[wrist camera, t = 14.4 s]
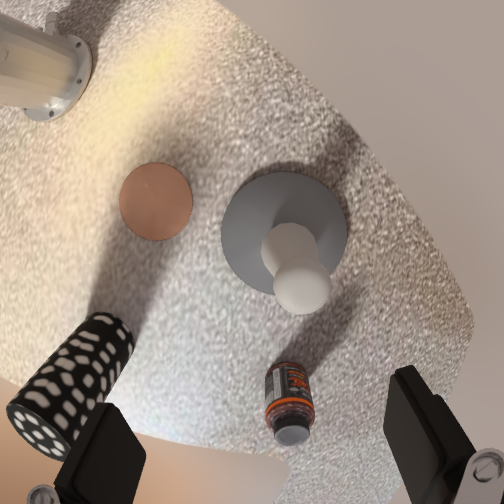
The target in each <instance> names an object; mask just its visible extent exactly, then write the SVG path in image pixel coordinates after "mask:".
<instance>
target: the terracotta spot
mask: <svg viewBox="0 0 504 504" xmlns="http://www.w3.org/2000/svg"><path fill="white" fill-rule="evenodd" d="M119 205H120V211H121V214H122V217H123V219H124V221H125V223H126V224H127V226H128V227H129V228H130V229H131V230H132V231H133V232H134V233H135V234H137V235H138V236H140V237H142V238H145V239H148V240H155V241H158V240H165V239H168V238H171V237H172V236H174V235H176V234H177V233H178V232H180V231H181V230H182V229H183V227H184V226H185V225H186V223H187V222H188V220H189V217H190V215H191V211H192V194H191V190H190V187H189V185H188V183H187V181H186V179H185V178H184V177H183V175H182V174H181V173H180V172H178V171H177V170H176V169H174V168H173V167H171V166H169V165H166V164H162V163H150V164H145V165H142V166H140V167H138V168H137V169H135V170H134V171H133V172H132V173H130V175H129V176H128V177H127V178H126V180H125V181H124V183H123V185H122V188H121V192H120V198H119Z"/></svg>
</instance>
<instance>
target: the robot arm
mask: <svg viewBox="0 0 504 504" xmlns="http://www.w3.org/2000/svg"><path fill="white" fill-rule="evenodd" d="M58 23H59V13H58V12H51V13H49V14H47V16H46V24H45V27H46V31H45V32H43V28H42V27H38V28H34V27H32V26H30V25H27V24H25V23H23V22H21V21H19V20H17V19H14V18H12V17H10V16H8V15H5V14H3V13H1V12H0V105H5V106H13V107H20V108H21V109H22V110H23V112H24V114H25V115H26V116H27V117H28V118H29V119H31V120H32V121H36V122H50V121H53V120H56V119H58V118H60V117H61V116H63V115H64V114H65V113H67V112H68V111H69V110H70V109H71V108H72V107H73V106H74V105H75V103H76V102H77V101H78V99H79V98H80V97H81V95H82V93H83V91H84V90H85V88H86V86H87V83H88V80H89V77H90V73H91V69H92V55H91V51H90V48H89V46H88V44H87V43H86V42H85V41H84V40H83V39H81V38H80V37H78V36H76V35H71V34H64V35H60V30H59V29H58ZM383 429H384V434H385V436H386V439H387V441H388V443H389V446H390V448H391V451H392V453H393V456H394V458H395V461H396V463H397V466H398V469H399V471H400V474H401V476H402V479H403V481H404V484H405V486H406V489H407V492H408V495H409V497H410V500H411V502H412V504H504V453H503V452H501V451H500V450H498V449H494V448H485V449H482V450H480V451H478V452H477V451H476V450H475V448H474V447H473V445H472V443H471V442H470V440H469V438H468V437H467V436H466V434H465V432H464V430H463V429H462V427H461V426H460V424H459V422H458V421H457V420H456V418H455V416H454V415H453V413H452V412H451V410H450V409H449V407H448V406H447V404H446V403H445V401H444V400H443V398H442V397H441V396H440V395H438V394H436V395H433V394H432V392H431V391H430V389H429V388H428V386H427V385H426V383H425V382H424V380H423V379H422V377H421V376H420V374H419V373H418V371H417V370H416V368H415V367H414V366H413V365H409V366H406V367H402V368H399V369H396V370H395V374H393V375H391V377H390V384H389V391H388V398H387V405H386V411H385V418H384V423H383ZM145 460H146V452H145V450H144V448H143V447H142V445H141V444H140V442H139V441H138V439H137V438H136V436H135V435H134V433H133V431H132V430H131V428H130V427H129V425H128V423H127V422H126V420H125V418H124V417H123V415H122V413H121V412H120V410H119V409H118V408H117V407H115V405H114V404H113V403H106V402H97V403H96V404H95V405H94V407H93V409H92V411H91V413H90V414H89V416H88V418H87V420H86V422H85V423H84V425H83V427H82V429H81V431H80V433H79V435H78V436H77V438H76V440H75V442H74V444H73V446H72V448H71V450H70V452H69V454H68V455H67V457H66V459H65V461H64V463H63V465H62V467H61V469H60V471H59V473H58V475H57V477H56V479H55V481H54V485H55V488H54V489H53V487H51V486H49V485H45V484H42V485H38V486H36V487H34V488H33V489H32V490H31V491H30V492H29V494H28V496H27V504H133V500H134V497H135V494H136V490H137V487H138V483H139V480H140V477H141V473H142V470H143V467H144V463H145Z"/></svg>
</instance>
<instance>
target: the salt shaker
mask: <svg viewBox="0 0 504 504" xmlns="http://www.w3.org/2000/svg"><path fill="white" fill-rule="evenodd" d="M261 255H262V259H263V262H264V265H265V266H266V268H267V269H268V270H269V271H270V273H271V274H272V275H273V277H274V284H273V289H274V293H275V296H276V299H277V301H278V303H279V304H280V305H281V306H282V307H284V308H285V309H286V310H287V311H289V312H292V313H295V314H298V315H301V314H309V313H312V312H314V311H316V310H318V309H320V308H322V306H323V305H324V304H325V303H326V301H327V300H328V299H329V296H330V292H331V288H332V283H331V279H330V275H329V272H328V270H327V269H326V268H325V267H324V266H323V264H322V263H321V262H320V261H319V258H318V248H317V244H316V241H315V237H314V236H313V235H312V233H311V232H310V231H309V230H308V229H307V228H306V227H304V226H301V225H298V224H296V223H282V224H279V225H278V226H276V227H274V228H273V229H271V230H270V231H269V232H268V234H267V235H266V237H265V238H264V239H263V241H262V248H261Z"/></svg>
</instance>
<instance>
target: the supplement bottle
mask: <svg viewBox="0 0 504 504" xmlns="http://www.w3.org/2000/svg"><path fill="white" fill-rule="evenodd" d="M265 420H266V424H267V427H268V428H269V429H270V430H271V431H272V432H273V433H274V438H275V440H276V442H277V443H279V444H280V445H284V446H296V445H299V444H302V443H304V442H305V441H306V440H307V439H308V438H309V436H310V431H309V428H310V427H311V426H312V425H313V423H314V420H315V411H314V406H313V401H312V396H311V391H310V386H309V380H308V377H307V373H306V371H305V370H304V369H303V368H302V367H301V366H300V365H297V364H294V363H281V364H278V365H276V366H274V367H272V368H271V369H270V370H269V371H268V372H267V374H266V377H265Z"/></svg>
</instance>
